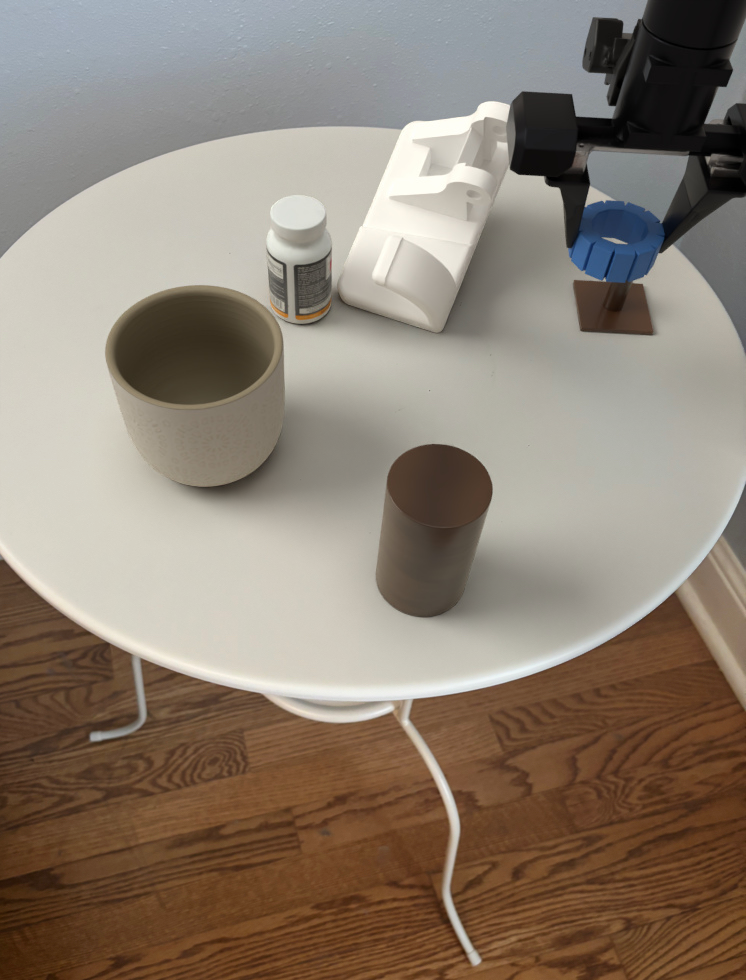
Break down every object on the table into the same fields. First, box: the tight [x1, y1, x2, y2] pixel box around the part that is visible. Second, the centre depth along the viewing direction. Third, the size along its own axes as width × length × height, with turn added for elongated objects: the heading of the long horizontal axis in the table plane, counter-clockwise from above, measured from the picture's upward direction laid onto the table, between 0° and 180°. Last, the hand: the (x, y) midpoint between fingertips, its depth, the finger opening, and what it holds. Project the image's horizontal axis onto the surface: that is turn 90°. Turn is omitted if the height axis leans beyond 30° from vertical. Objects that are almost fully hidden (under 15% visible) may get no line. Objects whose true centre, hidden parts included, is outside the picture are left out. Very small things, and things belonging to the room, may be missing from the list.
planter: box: [104, 284, 286, 488], centre depth 63 cm, size 12×12×11 cm
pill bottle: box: [265, 194, 333, 325], centre depth 73 cm, size 6×6×10 cm
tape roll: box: [567, 199, 665, 283], centre depth 62 cm, size 6×6×2 cm
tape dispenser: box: [336, 100, 511, 334], centre depth 76 cm, size 20×11×13 cm, turn 156°
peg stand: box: [572, 279, 655, 336], centre depth 76 cm, size 7×7×4 cm
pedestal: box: [375, 443, 494, 618], centre depth 57 cm, size 7×7×11 cm
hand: (613, 247), depth 63 cm, fingers closed on tape roll, 6 cm apart
